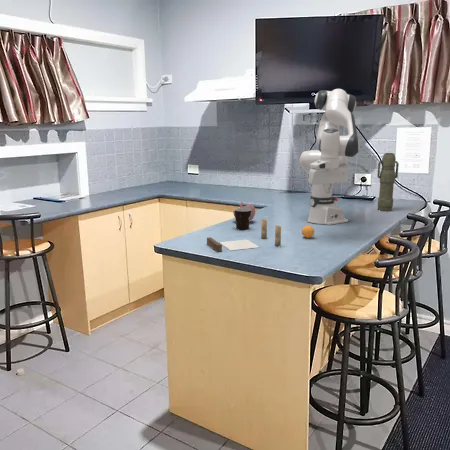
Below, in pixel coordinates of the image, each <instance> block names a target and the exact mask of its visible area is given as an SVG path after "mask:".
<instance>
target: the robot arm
mask: <svg viewBox="0 0 450 450" xmlns="http://www.w3.org/2000/svg"><path fill="white" fill-rule="evenodd" d="M356 99H357V98H356V97H355V96H354V95H353V94H351V93H347V91H346V90H344V89H342V88H335V89H332V90H326V89H324V90H323V89H321V90H319V91H318V92H317V93H316V95H315V97H314V106H315V109H317V110H319V111H325V112H324V113H323V114H322V116H321V119H320V122H319V126H318V130H317V137H316V142H317V143H318V149H312V150H311V149H309V150H305V151H303V152H302V153H301V155H300V156H299V159H298V161H299V165H300V166H301V168H302V169H303V170H304V171H305V172H306V174H307V175H308V178H307V179H308V180H307V181H308V184H310V185H311V195H310V202H309V203H310V204H309V205H310V209H309V214H308V218H307V222H308V223H312V224H319V225H326V226H327V225H328V226H333V225H339V224H343V223H348V222H349V219H348V218H346V217H345V213H344V212H345V211H344V210H343V208H341V207H340V206H339V205H337V204H336V203H335V202H338V201H339V198H338V197H336V196H333V188H334V187H335V186H334V185H335V184H346V183H348V181H349V173H348V171H349V170H348V169H349V168H348V164H349V158H350V157H351V158H353V157H355V156H356V155H357V154H358V153H359V151H360V141H359V137H358V132H357V125H356V120H355V116H354V113H353V112H354V110H355V109H356V107H357V100H356ZM340 126H341V127H345V128H346V129H347V133H348V134H347V135H340ZM348 157H349V158H348Z"/></svg>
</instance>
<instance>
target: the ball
mask: <svg viewBox="0 0 450 450" xmlns="http://www.w3.org/2000/svg"><path fill="white" fill-rule="evenodd" d="M315 232H316V231H315V228H314V227H313V226H312V225H305V226H303V227H302V230H301V234H302V236H303V237H304V238H306V239H311V238H312V237H313V236H314V235H315Z"/></svg>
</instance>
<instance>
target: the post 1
mask: <svg viewBox="0 0 450 450" xmlns="http://www.w3.org/2000/svg"><path fill="white" fill-rule="evenodd" d="M260 226H261V228H260V229H261V231H260V233H261V236H260V237H261V239H262V240H265V239H268V238H267V236H268V235H267V234H268V219H267V218H266V219H265V218H263V219H261V225H260Z"/></svg>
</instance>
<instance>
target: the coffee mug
mask: <svg viewBox="0 0 450 450" xmlns="http://www.w3.org/2000/svg"><path fill="white" fill-rule="evenodd" d="M234 211H235V216H234V218H235V227H236V230H238V229H239V230H238V231H246V230H247V231H248V230H250V222H251V221H250V215H251V209H248V208H240V207H237V208H235V209H234Z"/></svg>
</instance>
